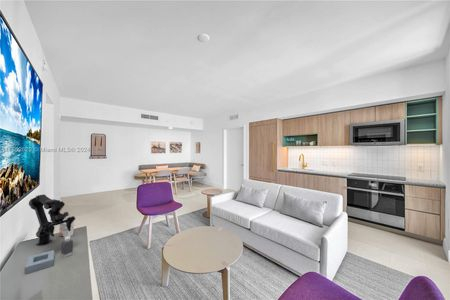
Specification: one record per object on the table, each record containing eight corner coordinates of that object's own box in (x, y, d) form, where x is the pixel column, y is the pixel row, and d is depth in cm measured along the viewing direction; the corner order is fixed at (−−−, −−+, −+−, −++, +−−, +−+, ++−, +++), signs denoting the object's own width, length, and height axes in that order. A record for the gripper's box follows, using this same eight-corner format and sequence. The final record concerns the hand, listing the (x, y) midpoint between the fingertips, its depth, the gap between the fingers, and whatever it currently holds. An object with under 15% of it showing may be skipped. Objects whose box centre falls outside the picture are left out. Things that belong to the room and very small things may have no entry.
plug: (61, 255, 121) (61, 237, 121) (69, 252, 125) (69, 234, 125) (64, 257, 119) (65, 239, 119) (72, 253, 123) (73, 236, 123)
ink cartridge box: (58, 236, 146) (59, 219, 146) (64, 233, 151) (65, 217, 151) (67, 237, 145) (68, 219, 145) (73, 234, 150) (74, 217, 150)
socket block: (28, 262, 112) (28, 256, 112) (53, 255, 121) (54, 249, 121) (24, 274, 102) (24, 267, 102) (53, 265, 110) (53, 259, 110)
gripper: (42, 213, 119) (48, 233, 114) (74, 205, 136) (81, 223, 131) (36, 221, 122) (42, 241, 118) (69, 213, 139) (75, 230, 135)
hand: (61, 233), depth 125 cm, fingers open, 9 cm apart
